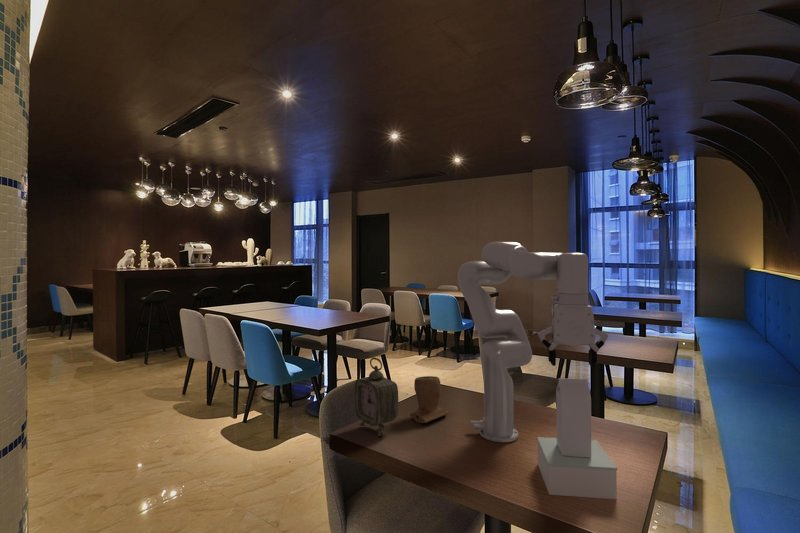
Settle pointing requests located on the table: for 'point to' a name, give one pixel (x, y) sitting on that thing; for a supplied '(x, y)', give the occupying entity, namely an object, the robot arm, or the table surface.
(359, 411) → the tabletop clock
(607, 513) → the table surface
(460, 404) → the table surface
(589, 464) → the box lid
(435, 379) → the brown upright piece
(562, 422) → the milk carton
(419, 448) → the table surface
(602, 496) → the pastry box
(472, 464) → the table surface
